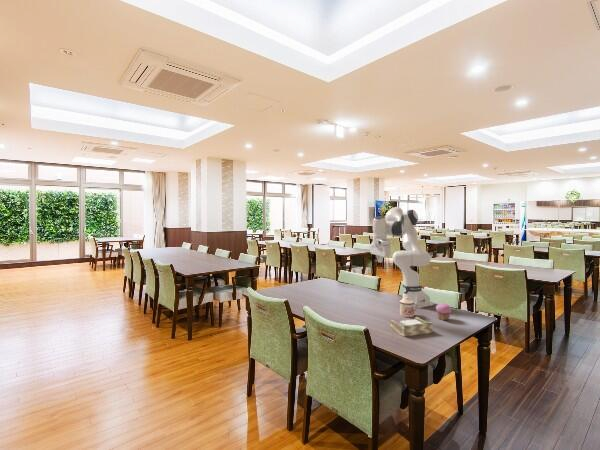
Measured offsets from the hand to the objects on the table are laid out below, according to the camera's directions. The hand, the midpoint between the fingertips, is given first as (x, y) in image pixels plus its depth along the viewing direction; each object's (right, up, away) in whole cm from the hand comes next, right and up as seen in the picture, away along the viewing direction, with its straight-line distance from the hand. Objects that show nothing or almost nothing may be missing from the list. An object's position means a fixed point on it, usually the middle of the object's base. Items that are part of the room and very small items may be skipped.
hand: (379, 262), depth 206 cm
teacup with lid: (+18, -34, -2) cm, 39 cm away
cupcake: (+36, -34, -12) cm, 51 cm away
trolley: (+10, -35, -29) cm, 47 cm away
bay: (+10, -35, -28) cm, 46 cm away
